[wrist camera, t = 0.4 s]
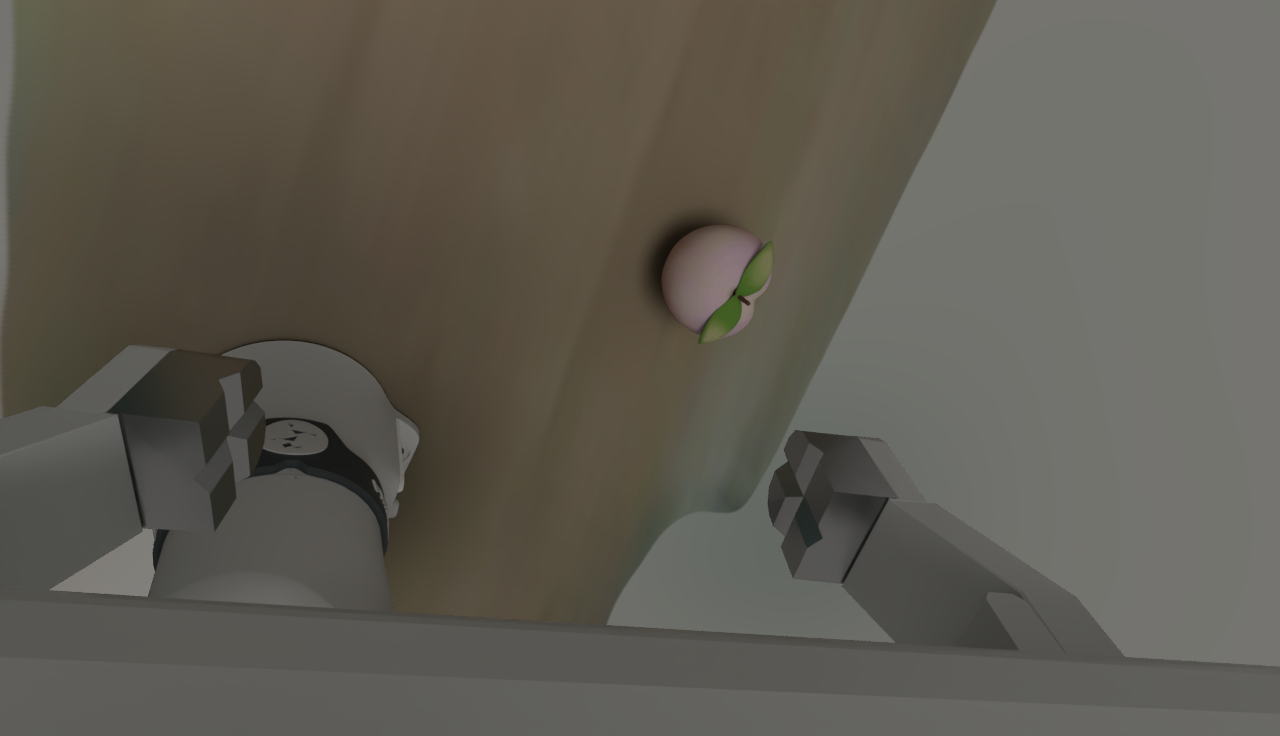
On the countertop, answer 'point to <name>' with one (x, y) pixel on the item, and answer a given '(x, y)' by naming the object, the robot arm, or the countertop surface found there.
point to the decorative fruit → (716, 279)
